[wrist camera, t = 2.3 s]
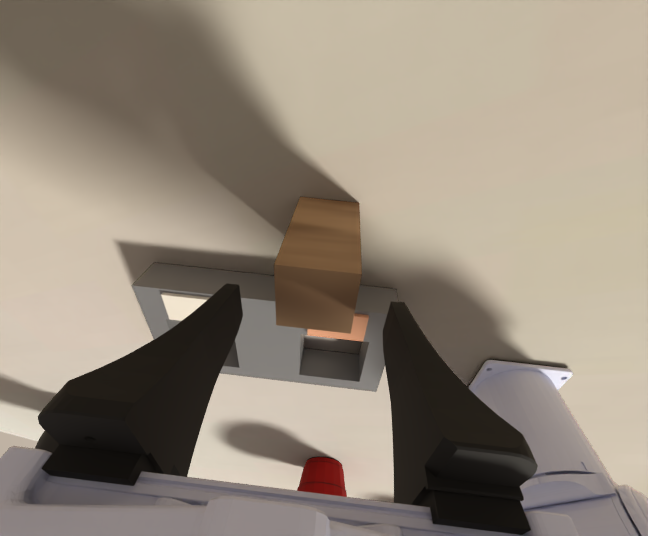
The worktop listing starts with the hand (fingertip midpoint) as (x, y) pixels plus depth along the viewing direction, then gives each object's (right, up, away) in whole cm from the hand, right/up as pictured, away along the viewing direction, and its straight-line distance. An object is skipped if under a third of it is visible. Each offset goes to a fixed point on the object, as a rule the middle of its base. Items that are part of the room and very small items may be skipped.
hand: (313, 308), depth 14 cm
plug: (+1, +5, +7) cm, 9 cm away
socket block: (-4, -3, +13) cm, 14 cm away
